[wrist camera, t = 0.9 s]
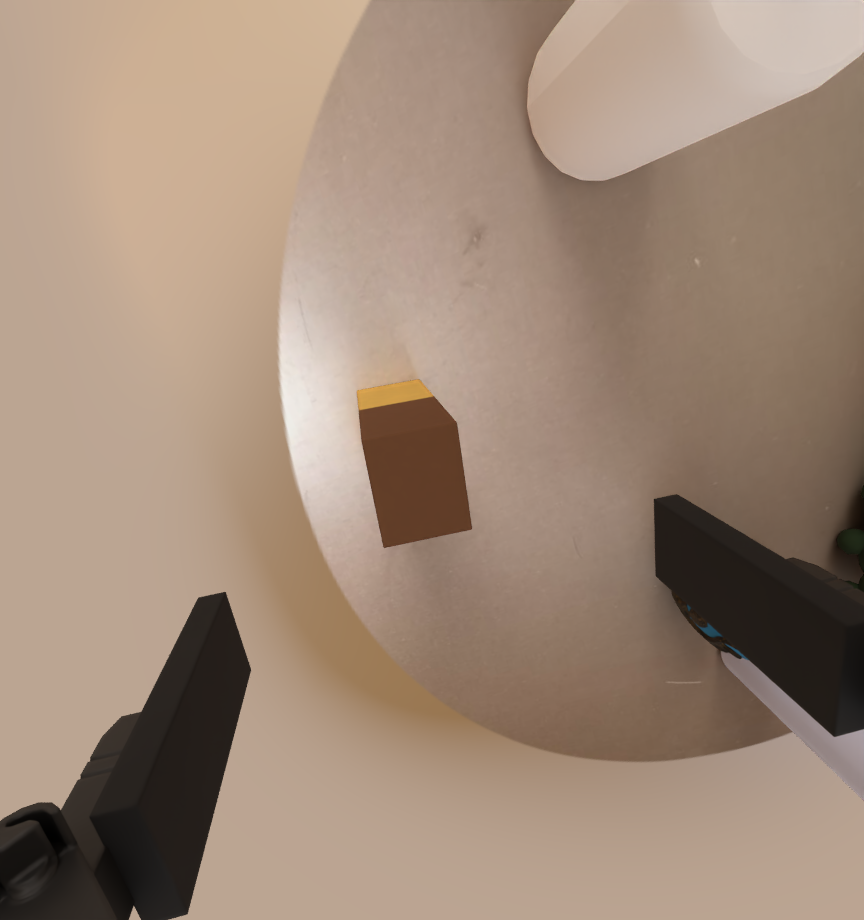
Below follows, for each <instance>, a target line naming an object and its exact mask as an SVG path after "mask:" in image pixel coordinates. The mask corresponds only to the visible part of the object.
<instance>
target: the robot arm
mask: <svg viewBox="0 0 864 920" xmlns="http://www.w3.org/2000/svg"><path fill="white" fill-rule="evenodd" d="M654 523H655V568H656V577H657V578H659V579H660V580H661V581H662V582H663V583H664V584H665V585H666V586H667V587H668V588H670V589H671V590H672V591H673V592H674V593H675V594H676V595H677V596H678V597H680V598H681V599H682V600H683V601H684V602H685V603H686V604H687V605H688V606H689V607H691V608H692V609H693V610H694V611H695V612H696V613H697V614H698V615H699V616H701V617H702V618H703V619H704V620H705V621H706V622H707V623H708V624H709V625H711V626H712V627H713V628H714V629H715V630H716V631H717V632H718V633H719V634H720V635H722V636H723V637H724V638H725V639H726V640H727V641H728V642H729V643H730V644H732V645H733V646H734V647H735V648H736V649H737V650H738V651H739V652H740V653H741V654H743V655H744V656H745V657H746V658H747V659H748V660H749V661H750V662H751V663H753V664H754V665H755V666H756V667H757V668H758V669H759V670H760V671H761V672H762V673H764V674H765V675H766V676H767V677H768V678H769V679H770V680H771V681H772V682H774V683H775V684H776V685H777V686H778V687H779V688H780V689H781V690H782V691H783V692H785V693H786V694H787V695H788V696H789V697H790V698H791V699H792V700H793V701H795V702H796V703H797V704H798V705H799V706H800V707H801V708H802V709H803V710H804V711H806V712H807V713H808V714H809V715H810V716H811V717H812V718H813V719H814V720H816V721H817V722H818V723H819V724H820V725H821V726H822V727H823V728H824V729H825V730H827V731H828V732H829V733H830V734H831V735H832V736H833V737H837V736H841V735H845V734H848V733H852V732H856V731H859V730H863V729H864V592H863V591H861V590H859V589H857V588H856V589H854V588H853V586H852V585H850V584H849V583H847V582H845V581H843V580H842V579H837V577H836V576H835V575H833V574H831V573H829V572H828V571H826V570H824V569H822V568H821V567H819V566H817V565H814V564H811V563H808V562H805V561H802V560H799V559H796V558H789V559H784V558H783V557H781V556H779V555H778V554H776V553H774V552H773V551H771V550H769V549H768V548H766V547H764V546H763V545H761V544H759V543H758V542H756V541H754V540H753V539H751V538H749V537H748V536H746V535H744V534H743V533H741V532H739V531H738V530H736V529H734V528H733V527H731V526H729V525H728V524H726V523H724V522H723V521H721V520H719V519H718V518H716V517H714V516H713V515H711V514H709V513H707V512H706V511H704V510H702V509H701V508H699V507H697V506H696V505H694V504H692V503H691V502H689V501H687V500H686V499H684V498H682V497H681V496H679V495H677V494H676V495H671V496H666V497H662V498H657V499H654ZM250 672H251V668H250V665H249V662H248V659H247V656H246V653H245V650H244V647H243V644H242V640H241V638H240V635H239V631H238V629H237V626H236V623H235V619H234V616H233V613H232V610H231V607H230V604H229V601H228V598H227V595H226V592H223V593H218V594H214V595H209V596H204V597H199V598H198V599H197V601H196V603H195V605H194V607H193V609H192V612H191V614H190V615H189V617H188V619H187V621H186V624H185V625H184V627H183V630H182V631H181V633H180V636H179V637H178V639H177V641H176V644H175V645H174V648H173V650H172V651H171V654H170V655H169V658H168V660H167V662H166V664H165V666H164V668H163V670H162V672H161V674H160V676H159V678H158V680H157V682H156V684H155V686H154V688H153V690H152V692H151V694H150V696H149V698H148V700H147V702H146V704H145V706H144V708H143V710H142V712H139V713H135V714H130V715H126V716H122V717H121V718H120V719H119V720H118V721H117V722H116V723H115V724H114V725H113V726H112V727H111V728H110V729H109V730H108V731H107V732H106V733H105V734H104V735H103V736H102V738H101V740H100V742H99V743H98V745H97V747H96V748H95V750H94V752H93V754H92V756H91V757H90V762H88V763H87V765H86V766H85V768H84V770H83V772H82V774H81V779H80V780H78V781H77V782H76V784H75V786H74V788H73V790H72V791H71V793H70V795H69V797H68V799H67V800H66V802H65V804H64V806H63V808H62V809H61V810H60V809H59V808H58V807H57V806H56V805H54V804H53V803H36V804H33V805H30V806H27V807H24V808H21V809H19V810H18V811H16V812H14V813H12V814H11V815H9V816H7V817H5V818H4V819H2V820H1V821H0V920H129V917H130V914H131V911H132V908H133V906H135V908H136V910H137V912H138V914H139V916H140V918H141V920H168V919H172V918H176V917H179V916H183V915H186V914H188V910H189V906H190V903H191V899H192V895H193V891H194V887H195V883H196V879H197V876H198V872H199V868H200V864H201V860H202V857H203V852H204V849H205V845H206V841H207V837H208V833H209V830H210V826H211V822H212V818H213V814H214V810H215V807H216V803H217V798H218V795H219V791H220V787H221V783H222V780H223V775H224V771H225V768H226V764H227V760H228V757H229V752H230V749H231V745H232V741H233V737H234V733H235V729H236V726H237V722H238V718H239V714H240V710H241V707H242V703H243V699H244V695H245V691H246V687H247V683H248V680H249V676H250Z"/></svg>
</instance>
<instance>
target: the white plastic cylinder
mask: <svg viewBox="0 0 864 920" xmlns="http://www.w3.org/2000/svg"><path fill="white" fill-rule="evenodd" d="M863 52H864V0H575V1H574V3H573V4H572V5H571V7H570V8H569V9H568V10H567V12H566V13H565V14H564V16H563V17H562V18H561V20H560V21H559V22H558V24H557V25H556V26H555V27H554V29H553V30H552V32H551V33H550V35H549V36H548V38H547V39H546V41H545V42H544V44H543V45H542V47H541V48H540V50H539V51H538V53H537V56H536V59H535V62H534V65H533V68H532V72H531V75H530V78H529V81H528V100H527V111H528V115H529V120H530V124H531V129H532V133H533V136H534V138H535V140H536V142H537V143H538V145H539V147H540V149H541V151H542V152H543V154H544V156H545V157H546V158H547V159H548V160H549V161H550V162H551V163H552V164H553V165H554V166H555V167H557V168H558V169H559V170H560V171H561V172H563V173H565V174H567V175H570V176H572V177H574V178H577V179H579V180H588V181H605V180H608V179H611V178H614V177H617V176H620V175H623V174H625V173H627V172H630V171H632V170H634V169H637V168H639V167H641V166H643V165H646V164H648V163H650V162H652V161H655V160H657V159H659V158H661V157H664V156H666V155H668V154H671V153H673V152H675V151H677V150H680V149H682V148H684V147H686V146H689V145H691V144H693V143H695V142H698V141H700V140H702V139H704V138H707V137H709V136H711V135H714V134H716V133H718V132H720V131H723V130H725V129H727V128H729V127H732V126H734V125H736V124H738V123H741V122H743V121H745V120H748V119H750V118H752V117H754V116H757V115H759V114H761V113H763V112H766V111H768V110H770V109H772V108H775V107H777V106H779V105H781V104H784V103H786V102H788V101H791V100H793V99H795V98H797V97H800V96H802V95H804V94H806V93H809V92H811V91H813V90H815V89H817V88H818V87H820V86H821V85H822V84H824V83H825V82H826V81H828V80H829V79H830V78H832V77H833V76H834V75H835V74H837V73H838V72H839V71H841V70H842V69H843V68H845V67H846V66H847V65H849V64H850V63H851V62H853V61H854V60H855V59H856V58H858V57H859V56H860V55H861V54H862V53H863Z"/></svg>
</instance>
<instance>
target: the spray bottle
mask: <svg viewBox="0 0 864 920" xmlns="http://www.w3.org/2000/svg"><path fill="white" fill-rule="evenodd" d="M721 657H722V660H723V662H724V664H725V666H726V667H727V668H728V669H729V670H730V671H731V672H732V673H733V674H734V675H735V676H736V677H737V678H738V679H739V680H740V681H741V682H742V683H743V684H744V685H745V686H746V687H747V688H748V689H749V690H751V691H752V692H753V693H754V694H755V695H756V696H757V697H758V698H759V699H760V700H761V701H762V702H763V703H764V704H765V705H766V706H767V707H768V708H769V709H770V710H771V711H772V712H773V713H774V714H775V715H776V716H777V717H778V718H779V719H780V720H781V721H782V722H783V723H784V724H785V725H786V726H787V727H788V728H789V729H791V730H792V731H793V732H794V733H795V734H796V735H797V736H798V737H799V738H800V739H801V740H802V741H803V742H804V743H805V744H806V745H807V746H808V747H809V748H810V749H811V750H812V751H813V752H814V753H815V754H816V755H817V756H818V757H819V758H820V759H821V760H822V761H823V762H825V764H827V766H829V767H830V768H831V769H832V770H833V771H834V772H835V773H836V774H837V775H838V776H839V777H840V778H841V779H842V780H843V781H844V782H845V783H846V784H847V785H848V786H849V787H850V788H851V789H852V790H853V791H854V792H855V793H856V794H857V795H858V796H859V797H860V798H861V799H862V800H864V729H863V730H859V731H856V732H852V733H848V734H845V735H841V736H837V737H833V736H832V735H831V734H830V733H829V732H828V731H827V730H825V729H824V728H823V727H822V726H821V725H820V724H819V723H818V722H817V721H816V720H814V719H813V718H812V717H811V716H810V715H809V714H808V713H807V712H806V711H804V710H803V709H802V708H801V707H800V706H799V705H798V704H797V703H796V702H795V701H793V700H792V699H791V698H790V697H789V696H788V695H787V694H786V693H785V692H783V691H782V690H781V689H780V688H779V687H778V686H777V685H776V684H775V683H774V682H772V681H771V680H770V679H769V678H768V677H767V676H766V675H765V674H764V673H762V672H761V671H760V670H759V669H758V668H757V667H756V666H755V665H754V664H753V663H751V662H750V661H749V660H746V659H744V658H741V659H738V658H736V657H735V656H733V655H731V654H730V653H729V652H728V653H725V652H723V651H721Z"/></svg>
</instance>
